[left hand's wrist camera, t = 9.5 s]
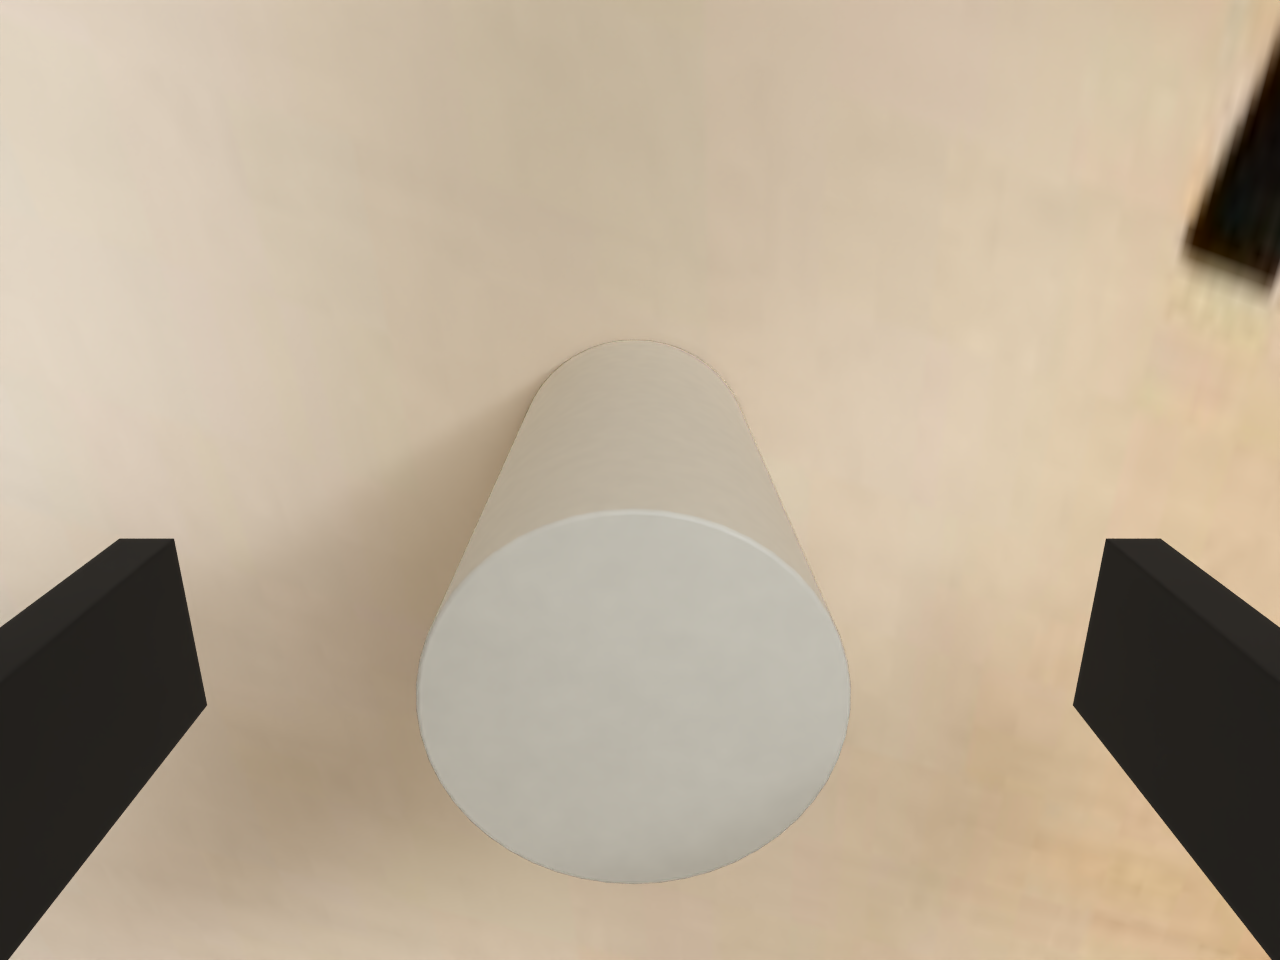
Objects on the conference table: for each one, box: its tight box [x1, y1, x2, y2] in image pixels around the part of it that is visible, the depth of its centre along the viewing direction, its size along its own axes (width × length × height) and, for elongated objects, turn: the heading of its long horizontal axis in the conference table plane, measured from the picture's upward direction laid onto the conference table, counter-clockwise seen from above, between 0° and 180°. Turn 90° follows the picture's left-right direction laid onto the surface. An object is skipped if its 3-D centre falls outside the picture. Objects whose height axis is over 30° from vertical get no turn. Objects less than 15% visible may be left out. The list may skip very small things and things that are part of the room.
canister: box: [416, 340, 851, 884], centre depth 17 cm, size 6×6×11 cm
